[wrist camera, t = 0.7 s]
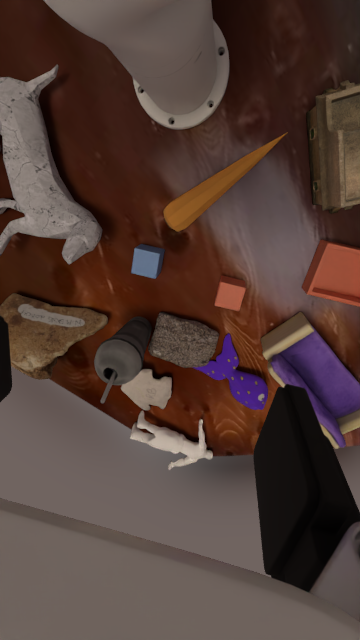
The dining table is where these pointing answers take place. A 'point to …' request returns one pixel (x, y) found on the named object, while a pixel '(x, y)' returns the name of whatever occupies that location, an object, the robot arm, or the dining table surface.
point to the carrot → (211, 190)
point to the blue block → (147, 261)
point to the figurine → (171, 441)
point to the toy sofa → (314, 375)
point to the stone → (182, 341)
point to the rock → (44, 332)
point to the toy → (237, 377)
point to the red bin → (334, 273)
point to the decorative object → (148, 390)
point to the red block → (230, 293)
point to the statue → (38, 174)
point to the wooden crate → (335, 147)
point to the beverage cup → (123, 354)
